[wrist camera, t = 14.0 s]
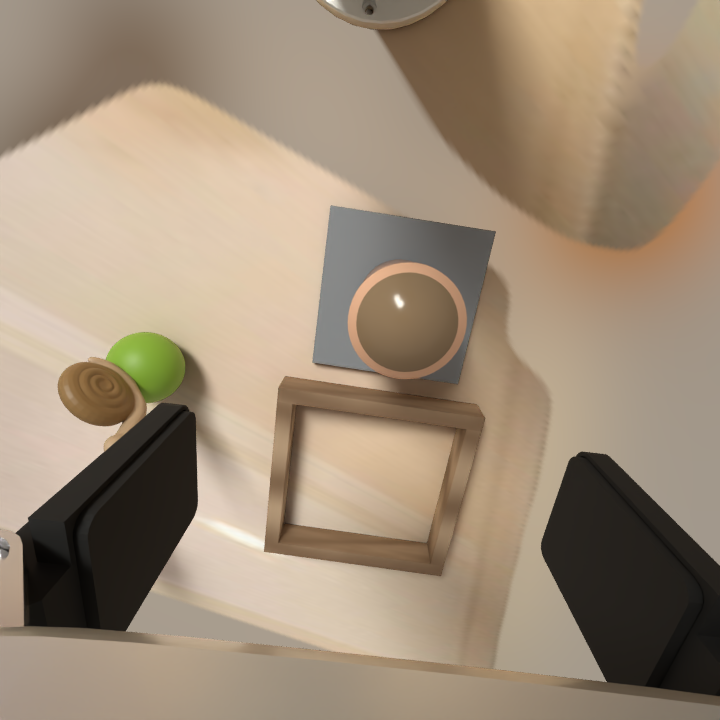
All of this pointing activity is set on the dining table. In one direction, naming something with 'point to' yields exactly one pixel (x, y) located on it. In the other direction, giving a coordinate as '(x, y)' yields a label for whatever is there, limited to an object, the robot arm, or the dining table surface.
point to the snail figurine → (123, 382)
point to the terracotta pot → (406, 319)
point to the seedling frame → (358, 545)
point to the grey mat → (383, 243)
